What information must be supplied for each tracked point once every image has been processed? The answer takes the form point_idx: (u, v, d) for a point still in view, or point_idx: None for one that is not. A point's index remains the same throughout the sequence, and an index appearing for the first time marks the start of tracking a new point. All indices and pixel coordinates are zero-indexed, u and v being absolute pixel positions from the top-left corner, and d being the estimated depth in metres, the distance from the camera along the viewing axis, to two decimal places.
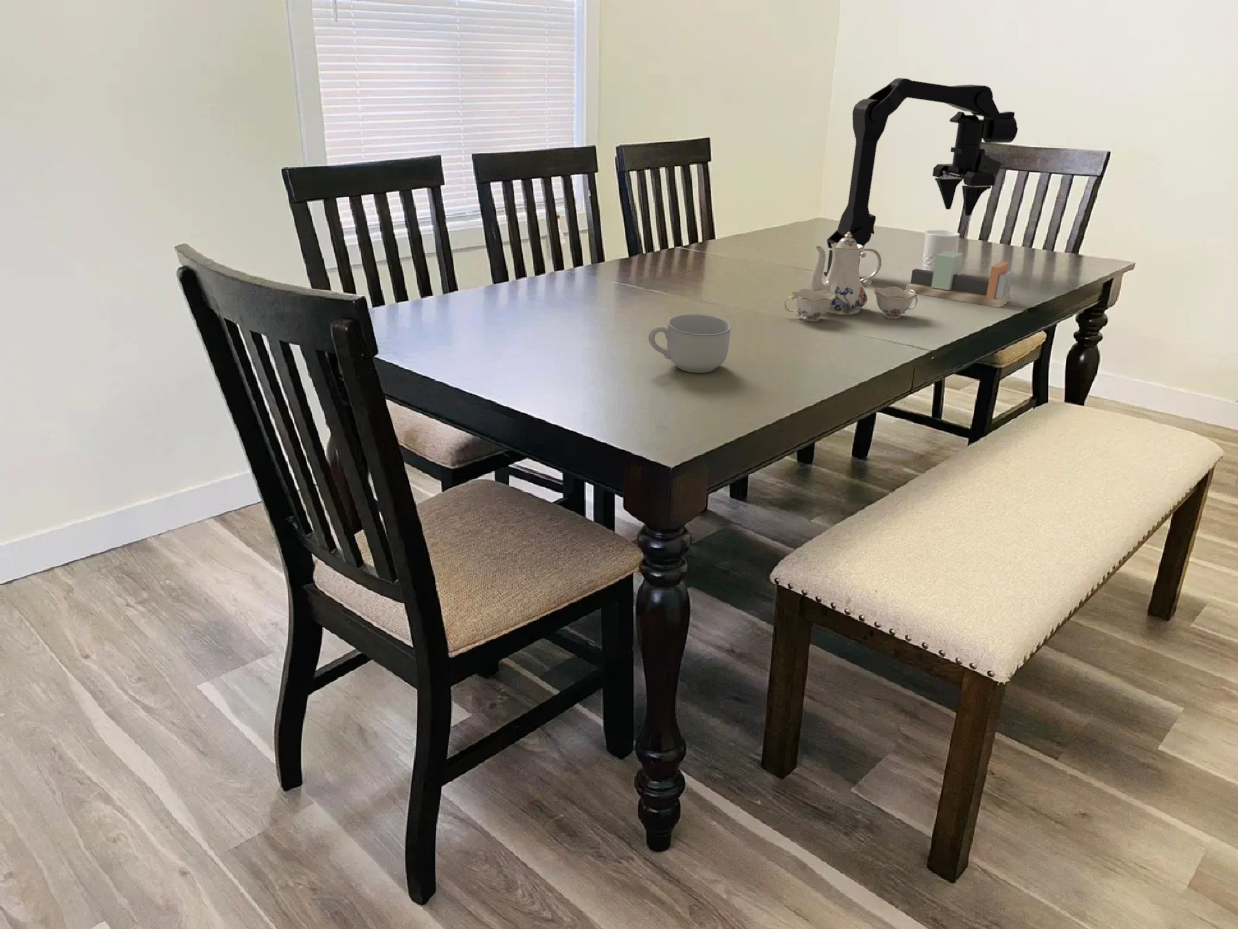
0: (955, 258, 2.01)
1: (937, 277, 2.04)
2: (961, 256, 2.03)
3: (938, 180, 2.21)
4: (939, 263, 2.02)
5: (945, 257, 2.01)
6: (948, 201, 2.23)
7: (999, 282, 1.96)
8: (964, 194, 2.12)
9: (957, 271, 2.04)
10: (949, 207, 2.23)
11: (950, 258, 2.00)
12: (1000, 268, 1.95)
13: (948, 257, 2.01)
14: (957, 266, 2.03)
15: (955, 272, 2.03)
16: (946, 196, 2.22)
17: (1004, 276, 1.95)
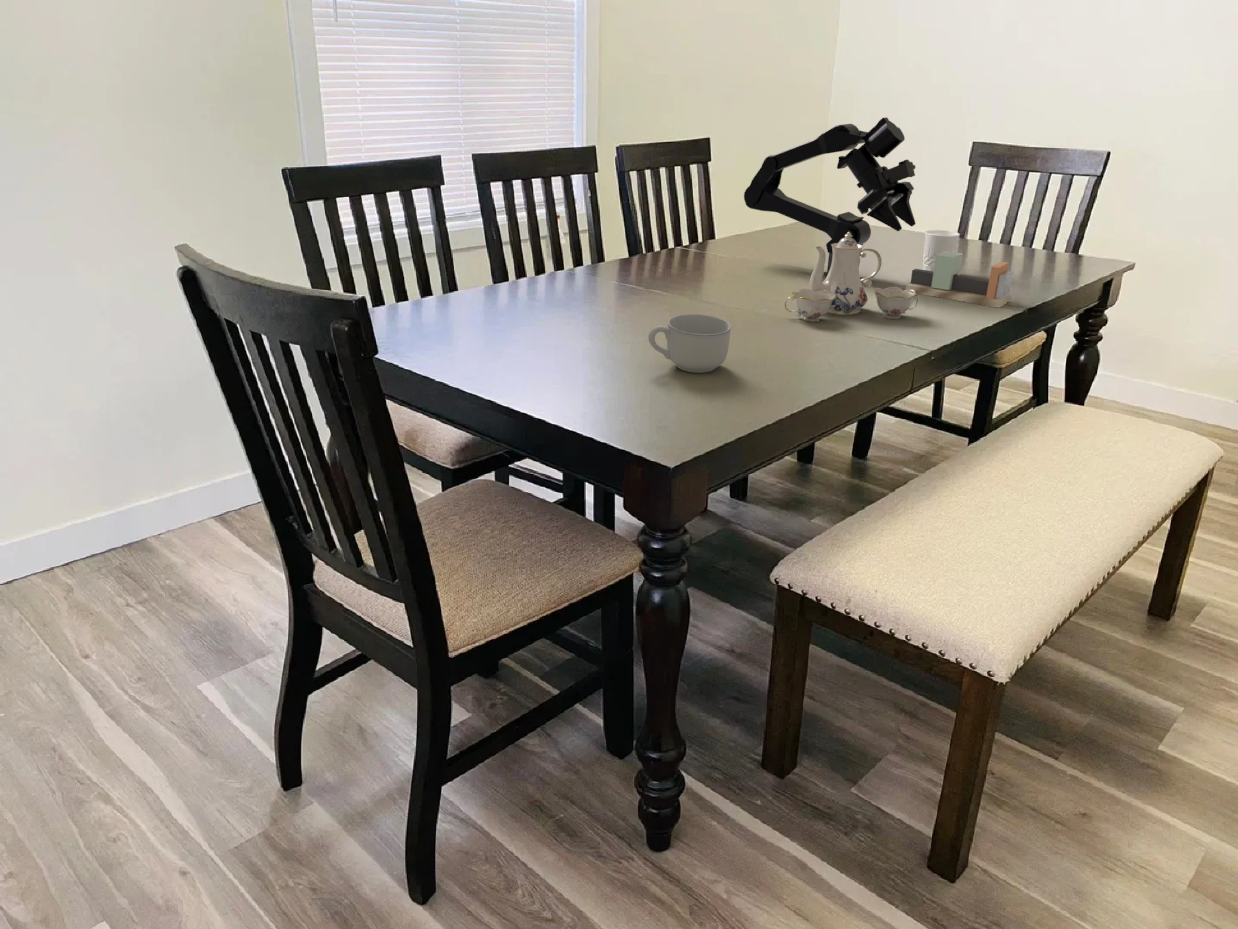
0: (955, 258, 2.01)
1: (937, 277, 2.04)
2: (961, 256, 2.03)
3: None
4: (939, 263, 2.02)
5: (945, 257, 2.01)
6: (907, 219, 2.10)
7: (999, 282, 1.96)
8: None
9: (957, 271, 2.04)
10: (912, 223, 2.10)
11: (950, 258, 2.00)
12: (1000, 268, 1.95)
13: (948, 257, 2.01)
14: (957, 266, 2.03)
15: (955, 272, 2.03)
16: (903, 217, 2.11)
17: (1004, 276, 1.95)
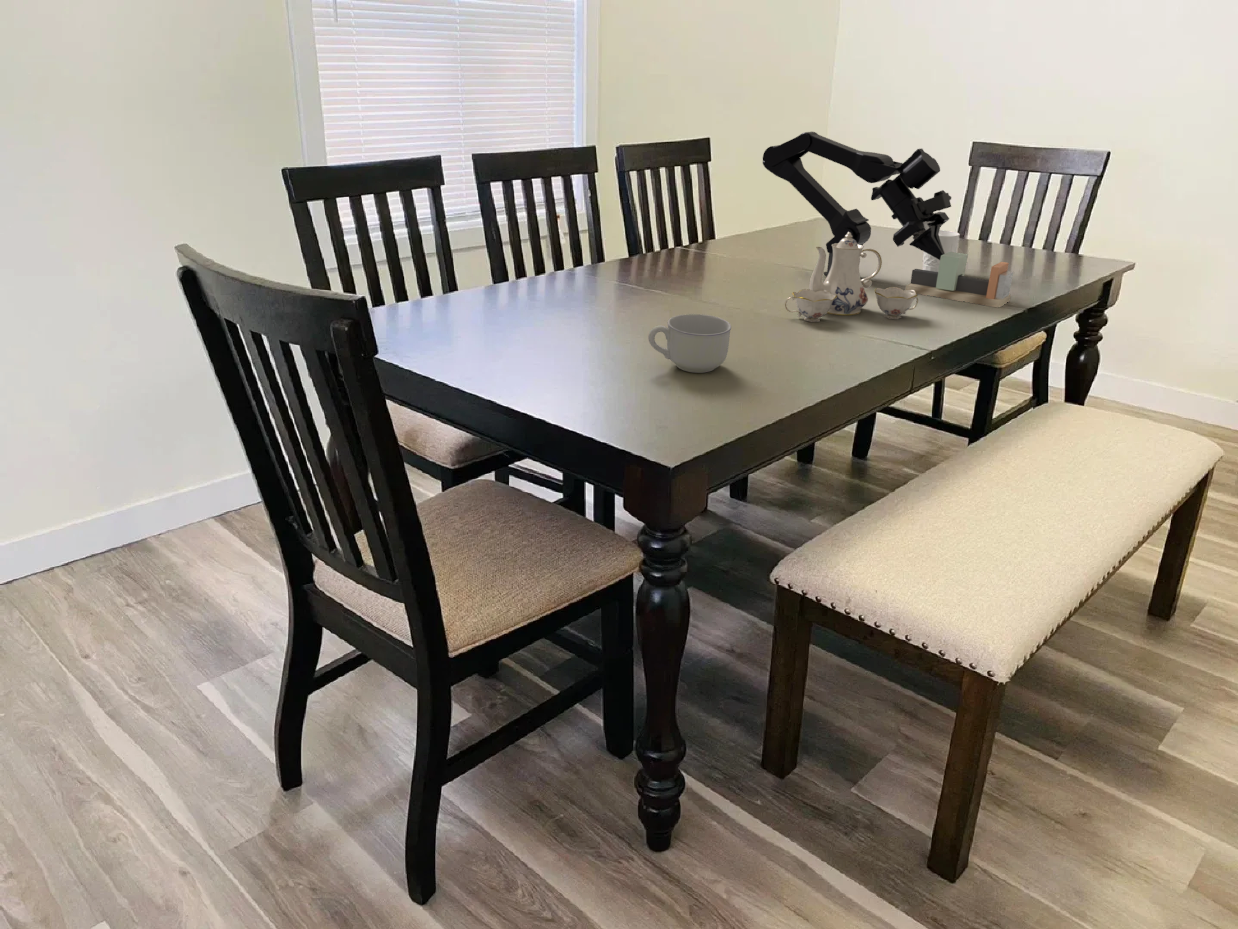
0: (960, 259, 2.00)
1: (942, 278, 2.03)
2: (966, 257, 2.03)
3: None
4: (943, 263, 2.02)
5: (950, 258, 2.00)
6: None
7: (999, 282, 1.96)
8: None
9: (962, 272, 2.04)
10: None
11: (955, 259, 2.00)
12: (1000, 268, 1.95)
13: (953, 258, 2.00)
14: (962, 267, 2.03)
15: (960, 273, 2.03)
16: None
17: (1004, 276, 1.95)
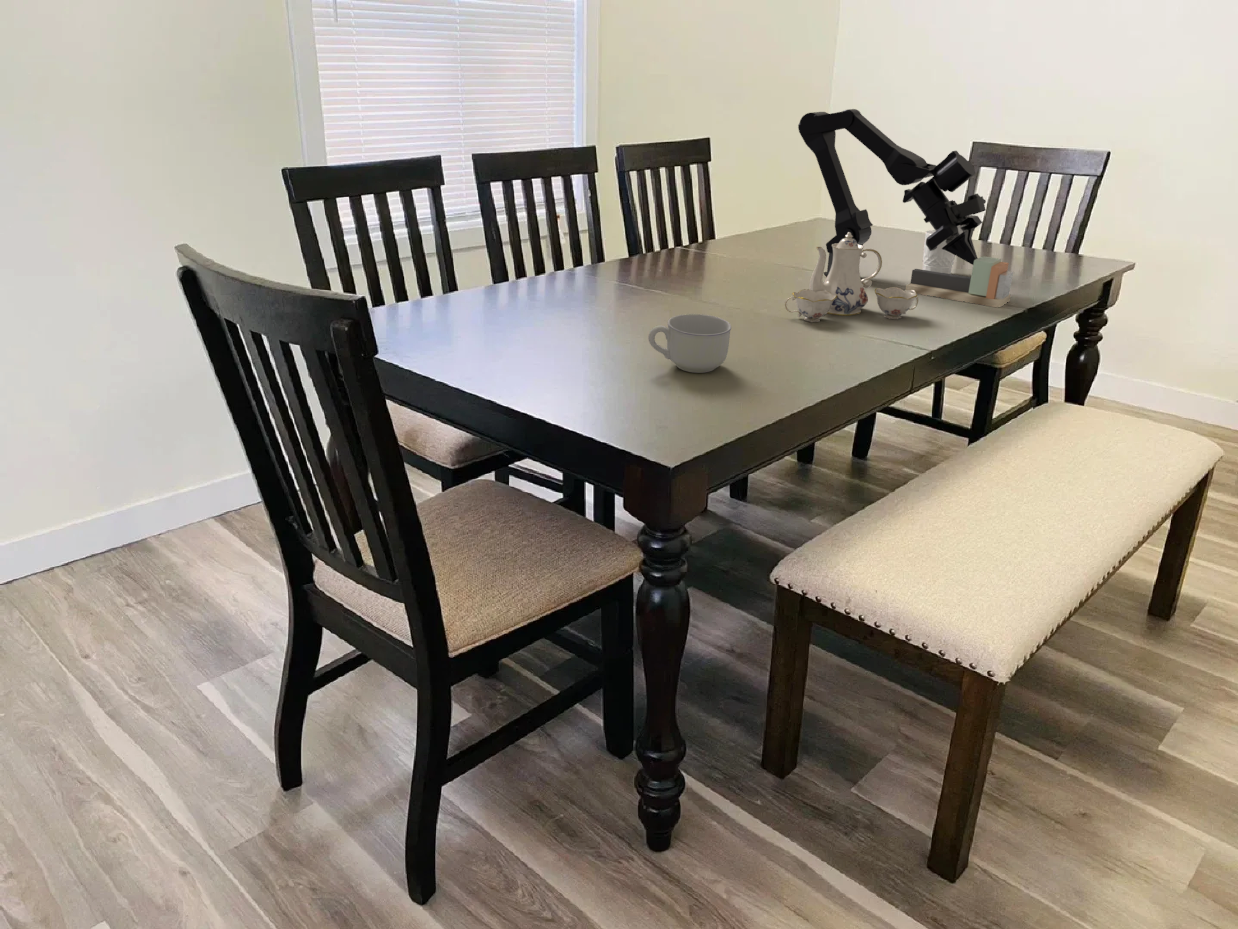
0: (993, 264, 1.96)
1: (975, 283, 1.99)
2: (999, 261, 1.99)
3: None
4: (977, 268, 1.98)
5: (983, 263, 1.96)
6: None
7: (999, 282, 1.96)
8: None
9: None
10: None
11: (988, 264, 1.96)
12: (1000, 268, 1.95)
13: (986, 263, 1.96)
14: None
15: None
16: None
17: (1004, 276, 1.95)
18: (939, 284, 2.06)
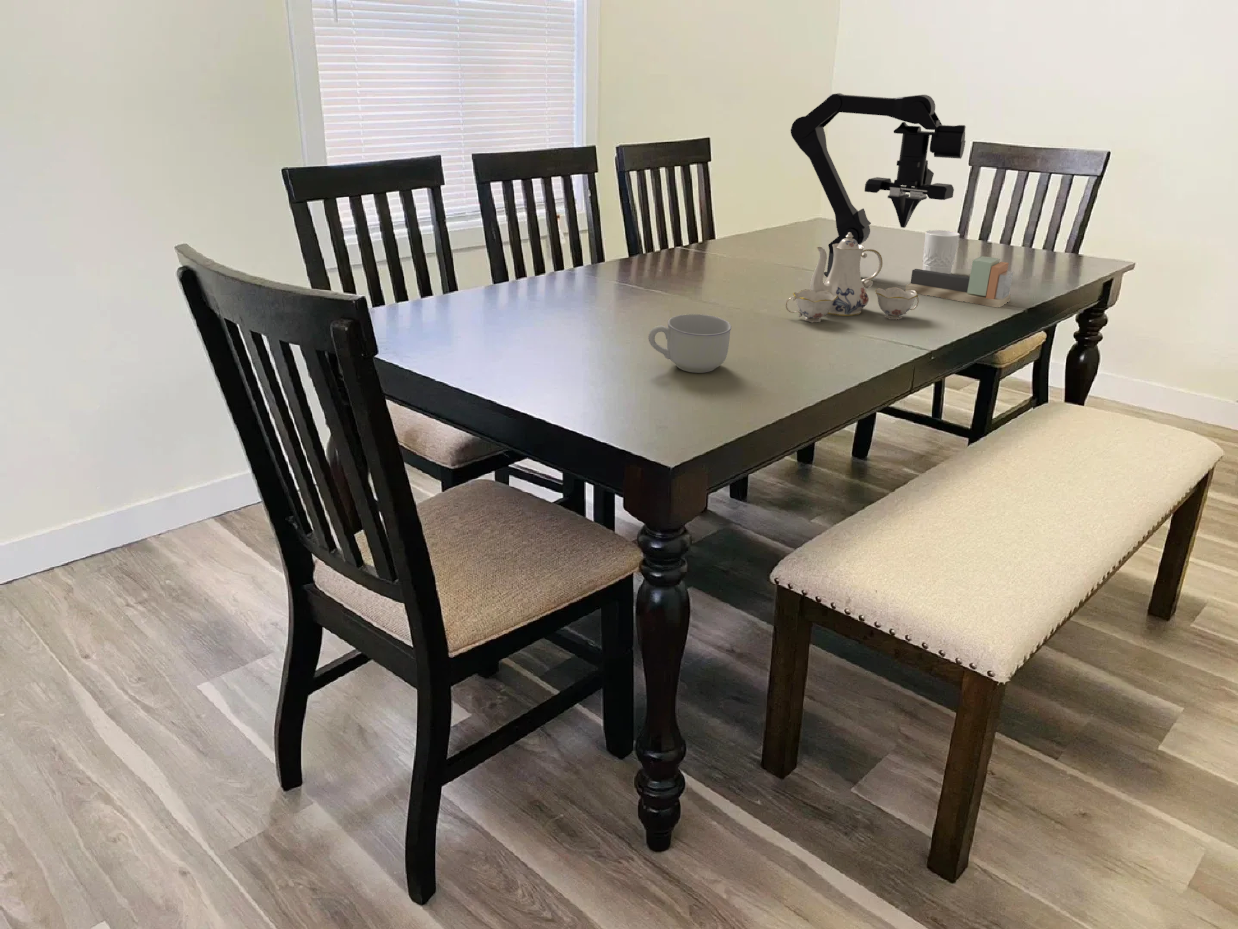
0: (992, 263, 1.96)
1: (973, 283, 1.99)
2: (998, 261, 1.99)
3: (896, 198, 2.06)
4: (975, 268, 1.98)
5: (982, 262, 1.97)
6: None
7: (999, 282, 1.96)
8: (907, 206, 2.06)
9: None
10: None
11: (987, 263, 1.96)
12: (1000, 268, 1.95)
13: (985, 262, 1.96)
14: None
15: None
16: (902, 214, 2.08)
17: (1004, 276, 1.95)
18: (939, 284, 2.06)
